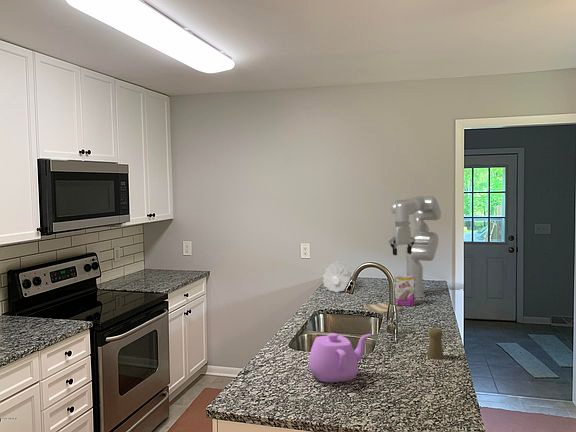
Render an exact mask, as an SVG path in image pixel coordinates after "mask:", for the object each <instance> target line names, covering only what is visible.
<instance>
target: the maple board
mask: <svg viewBox="0 0 576 432" xmlns="http://www.w3.org/2000/svg"><path fill="white" fill-rule="evenodd" d="M389 304H390V303H386V302H378V303H375V304H369V305H364V306H363V309H365V310H367V309H368V310H367V311H370V310H371V312H374V313H378V314H381V315H387V309H388V305H389ZM395 306H396V305H395ZM396 308H397V312H401V311H404V307H403V306H396Z"/></svg>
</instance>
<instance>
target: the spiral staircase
mask: <svg viewBox="0 0 576 432" xmlns="http://www.w3.org/2000/svg"><path fill="white" fill-rule="evenodd" d="M350 270H351V266H350V265H349V262H345V261H343V260H341V261H338V260H337V261H336V260H334V262H332V263H330V264H329V265H328V266H327V267H326V268H325V270H324V271H325V272H323V274H322V278H323V280H322V283H323V285H324V288H326V289H328V291H329V292H330V293H331V292H335V293H339V292H343V291H345V289H346V288H347V287H348V286H347V284H348V282H349V281H350V279H351V280H352V278H351V277H352V274H353V273H352V272H351V271H350ZM350 282H351V281H350ZM350 282H349V283H350ZM346 286H347V287H346Z"/></svg>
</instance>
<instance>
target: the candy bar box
mask: <svg viewBox="0 0 576 432" xmlns="http://www.w3.org/2000/svg"><path fill="white" fill-rule="evenodd" d="M414 289H415V277H414V276H407V275H393V292H394V291H395V303H396V305H395V306H398V307H403V306H405V307H407V306H408V307H414V306H415V298H414Z"/></svg>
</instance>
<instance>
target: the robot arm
mask: <svg viewBox="0 0 576 432" xmlns="http://www.w3.org/2000/svg"><path fill="white" fill-rule="evenodd" d="M440 207H441V206H440V205H439V202H438V199H437V198H436V197H435V196H433V195H418V196H415V197H412V198H411V197H410V198H404V199H399V200H394V201H393V202H392V204H391V207H390V208H391V211H392V213H393V214H394V216H395V217H394V218H395V219H394V220H395V221H394V223H395V226H394V227H393V231H392V238H391V239H389V240H388V244H389V246H390V247H391V248H392V255H393V256H398V248H397V247H398V246H399V245H400V246H401V245H403V246H404V245H407V246H406V247H405V249H404V253H405V254H404V255H405V259H406V276H414V277H415V289H414V299H415V298H417V299H418V298H424V297H425V296H426V293H424V292H427V291H428V288H427V287H423V286H424V284H423V283H424V281H423V280H424V279H423V278H424V276H423V275H424V273H423V272H424V271H423V270H424V269H423V264H422V263H421V262H420V261H427V262H430V261H431V262H432V261H433V260H434V259H435V256H436V252H437V249H438V245H439V235H438V234H437V232H433V231H430V228H429V225H428V224H427V223H426V222H425V221H438V220H440V219H441V217H442V211H441V208H440ZM411 215H413V222H414V227H415V228H414V231H413V233H412V231H411V227H410V225H411V221H410V216H411Z"/></svg>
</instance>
